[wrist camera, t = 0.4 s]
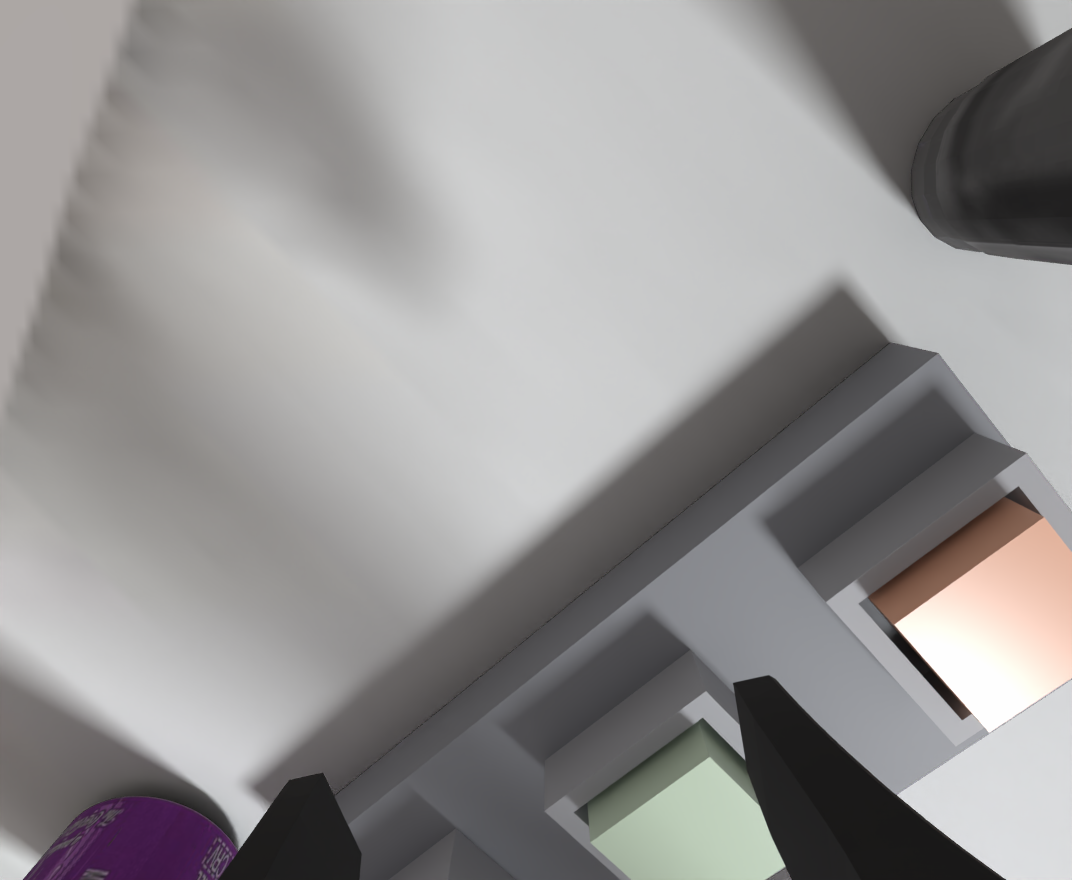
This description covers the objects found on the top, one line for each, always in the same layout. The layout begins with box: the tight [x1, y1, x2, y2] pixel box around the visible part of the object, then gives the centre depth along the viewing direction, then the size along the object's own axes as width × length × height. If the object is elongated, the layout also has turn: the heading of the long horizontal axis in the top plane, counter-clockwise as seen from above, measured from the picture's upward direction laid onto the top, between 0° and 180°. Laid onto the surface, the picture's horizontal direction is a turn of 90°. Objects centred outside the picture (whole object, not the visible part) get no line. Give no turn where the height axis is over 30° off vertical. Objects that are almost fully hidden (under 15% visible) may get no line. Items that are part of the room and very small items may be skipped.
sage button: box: [587, 718, 786, 880], centre depth 19 cm, size 4×4×2 cm
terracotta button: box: [867, 497, 1072, 732], centre depth 17 cm, size 4×4×2 cm
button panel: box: [334, 343, 1072, 880], centre depth 21 cm, size 27×11×4 cm, turn 133°
